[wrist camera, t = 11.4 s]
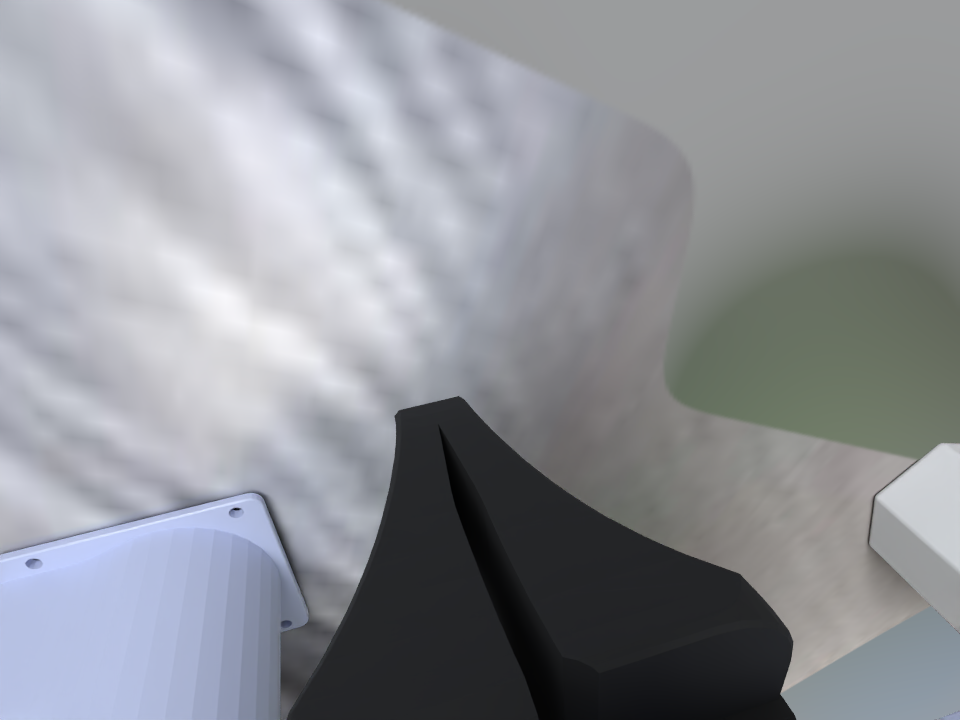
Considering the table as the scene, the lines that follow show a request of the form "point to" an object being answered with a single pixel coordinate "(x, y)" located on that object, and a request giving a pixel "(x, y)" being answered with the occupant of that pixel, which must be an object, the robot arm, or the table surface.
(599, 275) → the table surface
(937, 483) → the jar
